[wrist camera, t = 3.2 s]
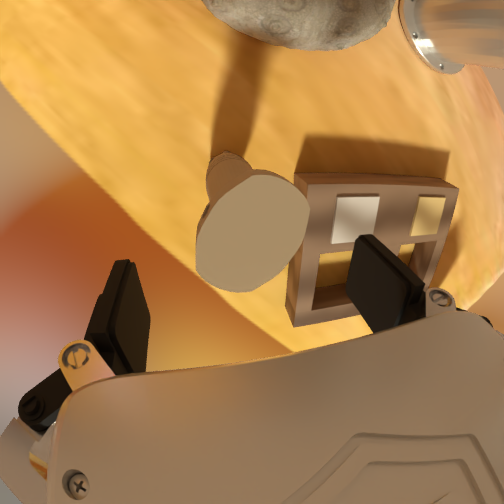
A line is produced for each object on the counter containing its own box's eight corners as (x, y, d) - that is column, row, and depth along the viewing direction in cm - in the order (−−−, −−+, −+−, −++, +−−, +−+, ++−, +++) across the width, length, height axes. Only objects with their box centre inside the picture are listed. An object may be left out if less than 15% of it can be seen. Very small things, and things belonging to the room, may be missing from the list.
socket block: (294, 173, 27) (309, 185, 24) (439, 178, 30) (460, 189, 27) (285, 306, 37) (294, 329, 33) (410, 283, 40) (424, 299, 36)
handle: (187, 183, 26) (176, 272, 13) (220, 126, 24) (243, 156, 11) (229, 204, 28) (258, 302, 15) (263, 150, 26) (328, 207, 13)
